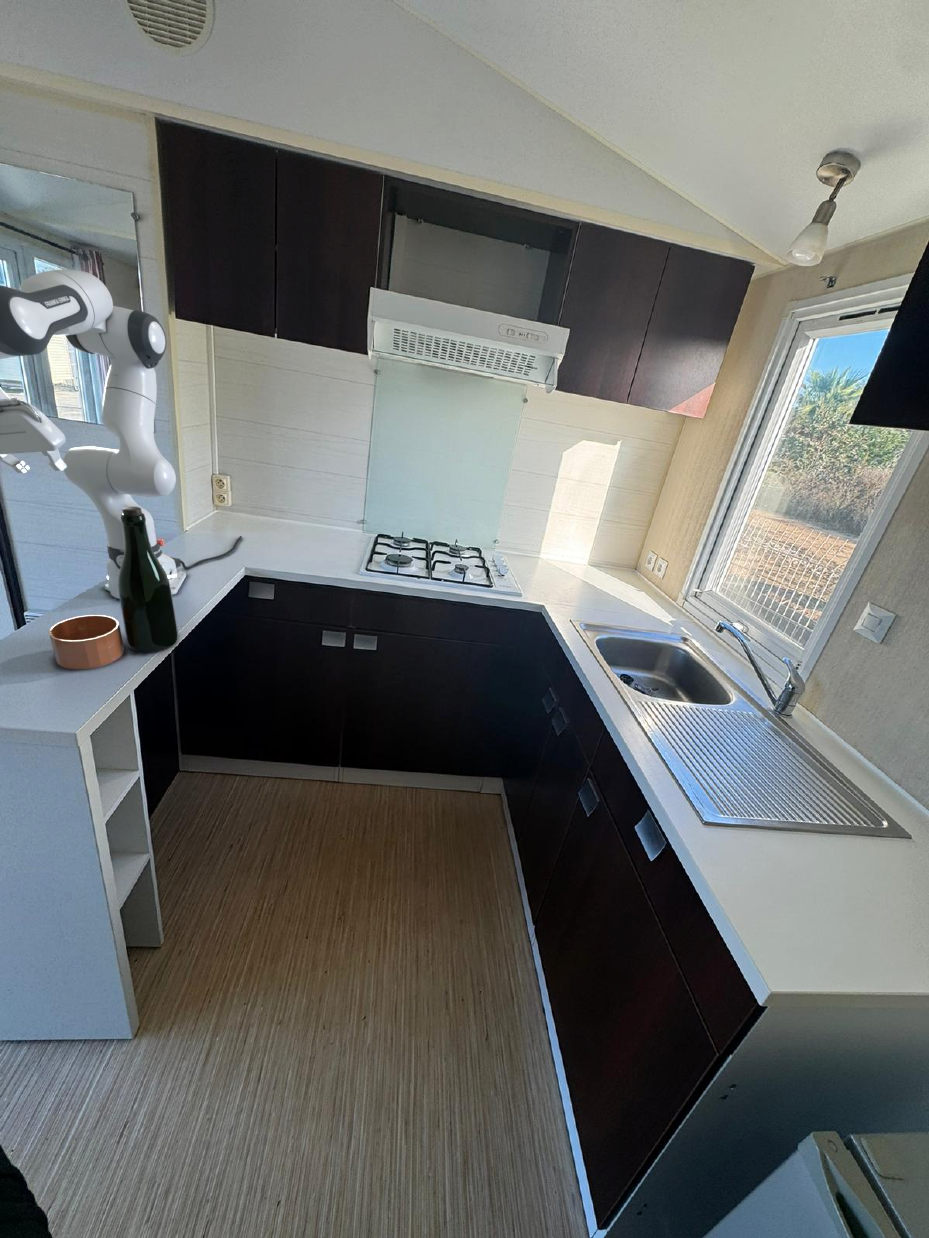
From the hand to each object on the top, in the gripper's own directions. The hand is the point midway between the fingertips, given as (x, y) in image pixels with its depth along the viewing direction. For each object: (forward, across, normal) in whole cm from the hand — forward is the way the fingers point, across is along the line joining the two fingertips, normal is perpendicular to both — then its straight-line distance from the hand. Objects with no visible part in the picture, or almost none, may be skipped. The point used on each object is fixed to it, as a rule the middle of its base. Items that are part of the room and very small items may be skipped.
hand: (43, 470), depth 94 cm
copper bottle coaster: (+34, +4, +21) cm, 40 cm away
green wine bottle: (+40, -3, +13) cm, 42 cm away
